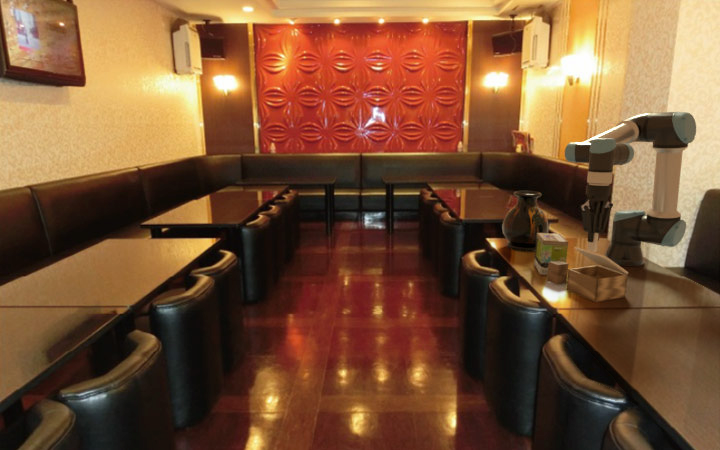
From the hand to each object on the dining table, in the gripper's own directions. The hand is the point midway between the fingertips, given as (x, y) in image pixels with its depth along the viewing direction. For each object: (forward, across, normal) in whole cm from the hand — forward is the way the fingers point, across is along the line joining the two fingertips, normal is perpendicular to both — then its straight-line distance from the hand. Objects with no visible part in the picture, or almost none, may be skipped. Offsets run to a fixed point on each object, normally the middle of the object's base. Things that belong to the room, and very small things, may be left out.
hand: (592, 250), depth 161 cm
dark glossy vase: (+17, -22, -61) cm, 67 cm away
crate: (+17, -4, 0) cm, 17 cm away
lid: (+4, -5, 0) cm, 6 cm away
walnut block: (+17, 0, -15) cm, 22 cm away
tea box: (+17, -8, -28) cm, 33 cm away
